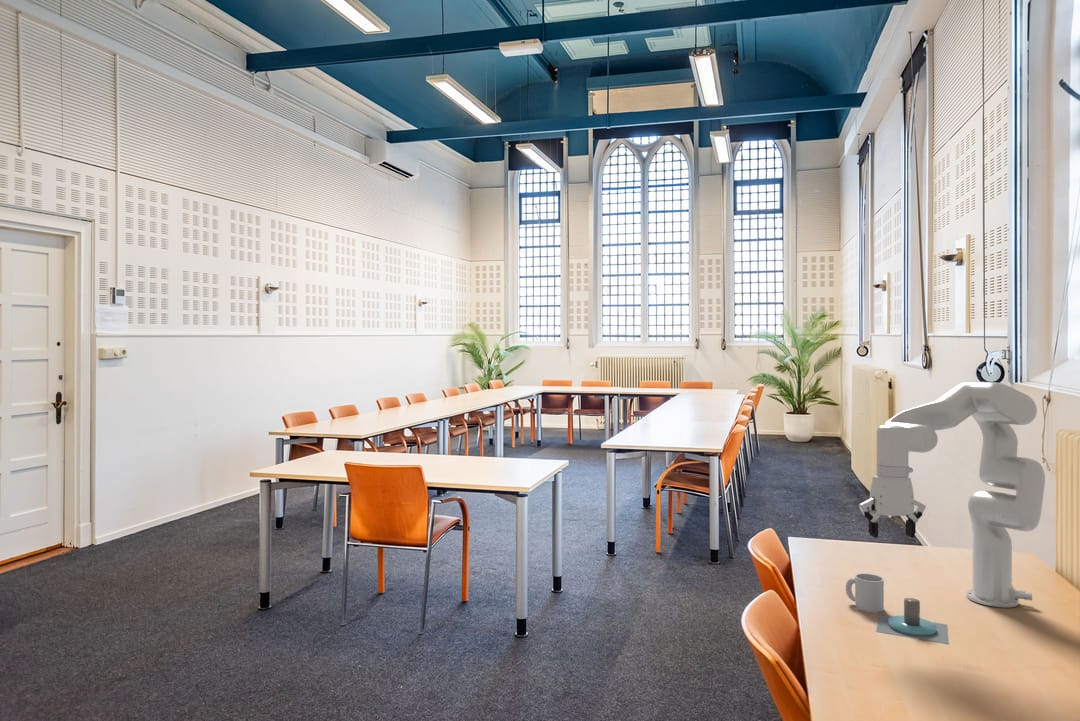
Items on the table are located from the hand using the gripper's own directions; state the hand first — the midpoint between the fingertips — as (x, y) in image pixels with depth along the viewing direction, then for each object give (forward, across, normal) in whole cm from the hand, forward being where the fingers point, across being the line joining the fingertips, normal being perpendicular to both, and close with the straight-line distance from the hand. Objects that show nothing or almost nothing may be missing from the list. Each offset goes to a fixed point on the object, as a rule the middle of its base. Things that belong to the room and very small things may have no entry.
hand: (892, 536), depth 180 cm
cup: (+24, +1, -12) cm, 26 cm away
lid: (+23, -4, +3) cm, 23 cm away
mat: (+23, -4, +3) cm, 24 cm away
